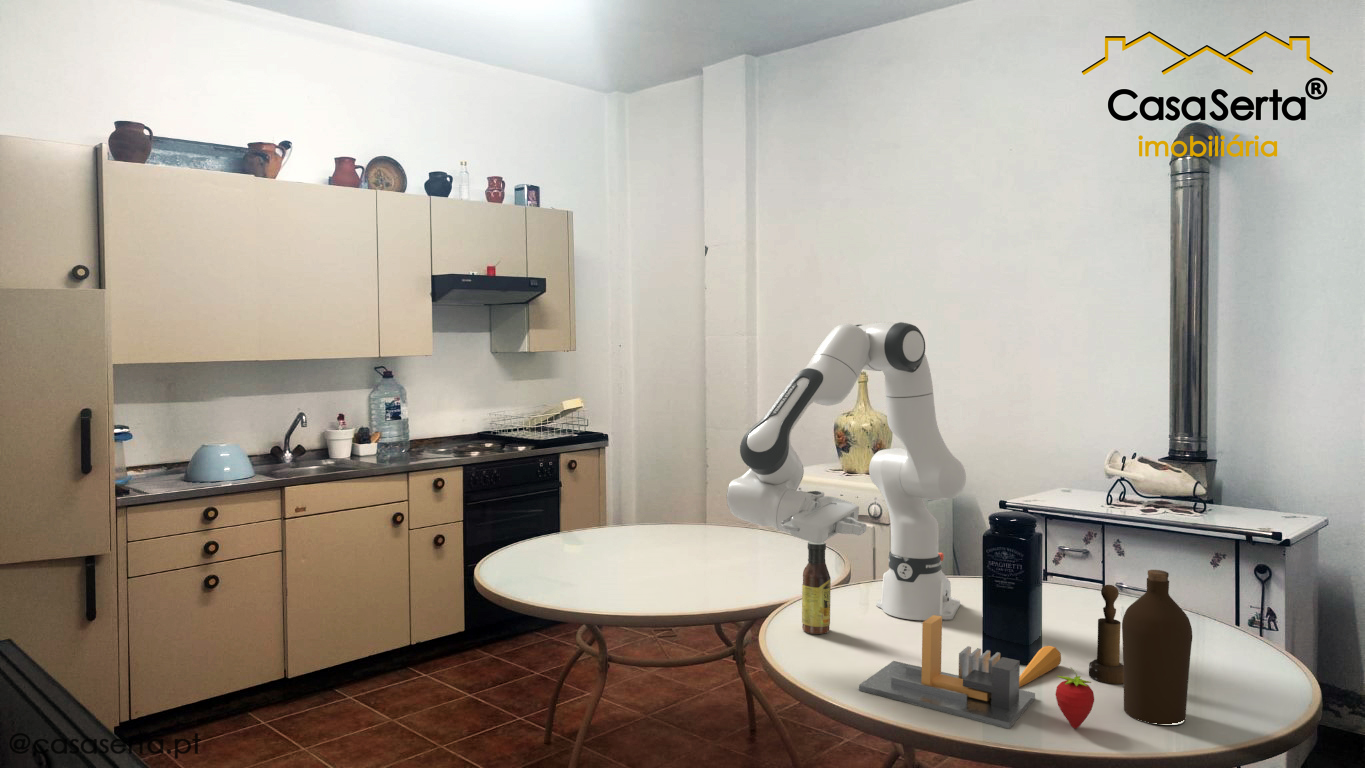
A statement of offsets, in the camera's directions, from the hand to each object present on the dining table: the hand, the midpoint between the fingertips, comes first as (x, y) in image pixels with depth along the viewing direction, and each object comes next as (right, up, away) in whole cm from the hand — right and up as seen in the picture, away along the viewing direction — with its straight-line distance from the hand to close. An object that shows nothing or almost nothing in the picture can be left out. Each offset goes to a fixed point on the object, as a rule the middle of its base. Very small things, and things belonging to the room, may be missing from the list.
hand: (863, 529), depth 170 cm
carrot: (+32, -28, -2) cm, 43 cm away
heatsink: (+13, -28, -11) cm, 33 cm away
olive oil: (+46, -29, -20) cm, 58 cm away
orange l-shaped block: (+14, -27, -13) cm, 33 cm away
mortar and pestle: (+46, -28, -3) cm, 54 cm away
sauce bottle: (-6, -27, +25) cm, 37 cm away
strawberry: (+30, -29, -25) cm, 49 cm away
